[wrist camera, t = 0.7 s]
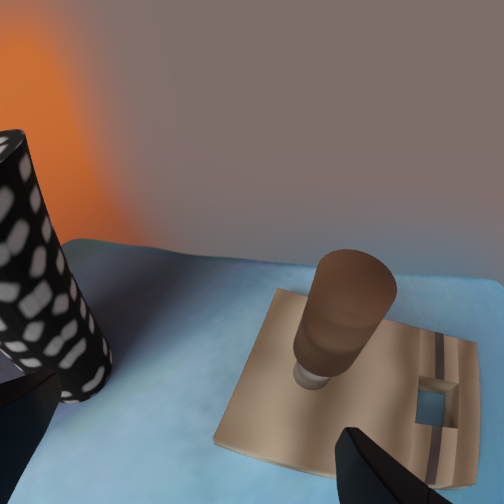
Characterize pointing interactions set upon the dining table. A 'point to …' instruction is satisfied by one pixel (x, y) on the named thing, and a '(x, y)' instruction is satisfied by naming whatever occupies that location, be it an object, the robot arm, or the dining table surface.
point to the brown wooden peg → (340, 315)
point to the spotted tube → (42, 286)
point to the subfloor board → (358, 401)
